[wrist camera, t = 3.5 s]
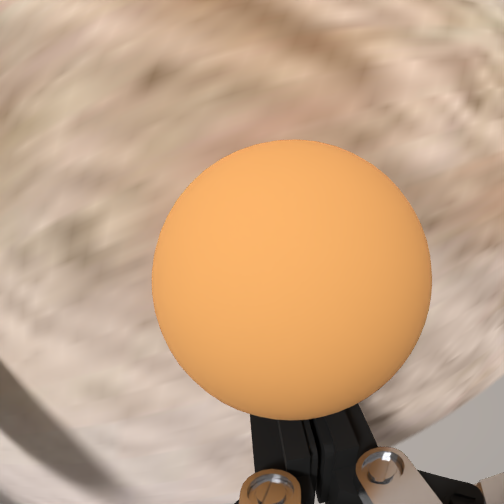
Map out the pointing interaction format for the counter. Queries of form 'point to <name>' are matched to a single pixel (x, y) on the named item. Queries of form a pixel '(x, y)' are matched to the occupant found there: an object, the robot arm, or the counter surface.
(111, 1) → the counter surface
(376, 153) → the counter surface
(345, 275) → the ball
